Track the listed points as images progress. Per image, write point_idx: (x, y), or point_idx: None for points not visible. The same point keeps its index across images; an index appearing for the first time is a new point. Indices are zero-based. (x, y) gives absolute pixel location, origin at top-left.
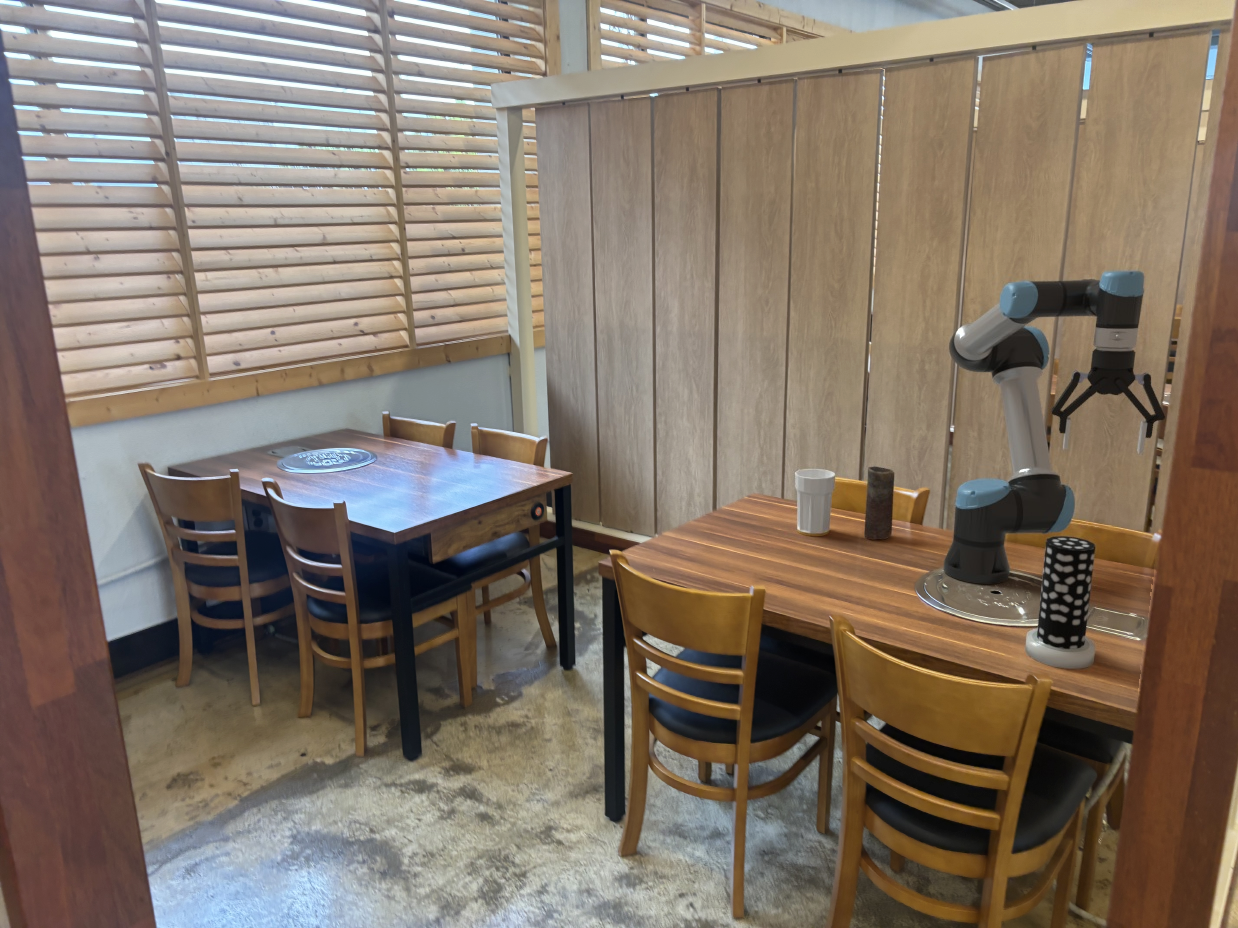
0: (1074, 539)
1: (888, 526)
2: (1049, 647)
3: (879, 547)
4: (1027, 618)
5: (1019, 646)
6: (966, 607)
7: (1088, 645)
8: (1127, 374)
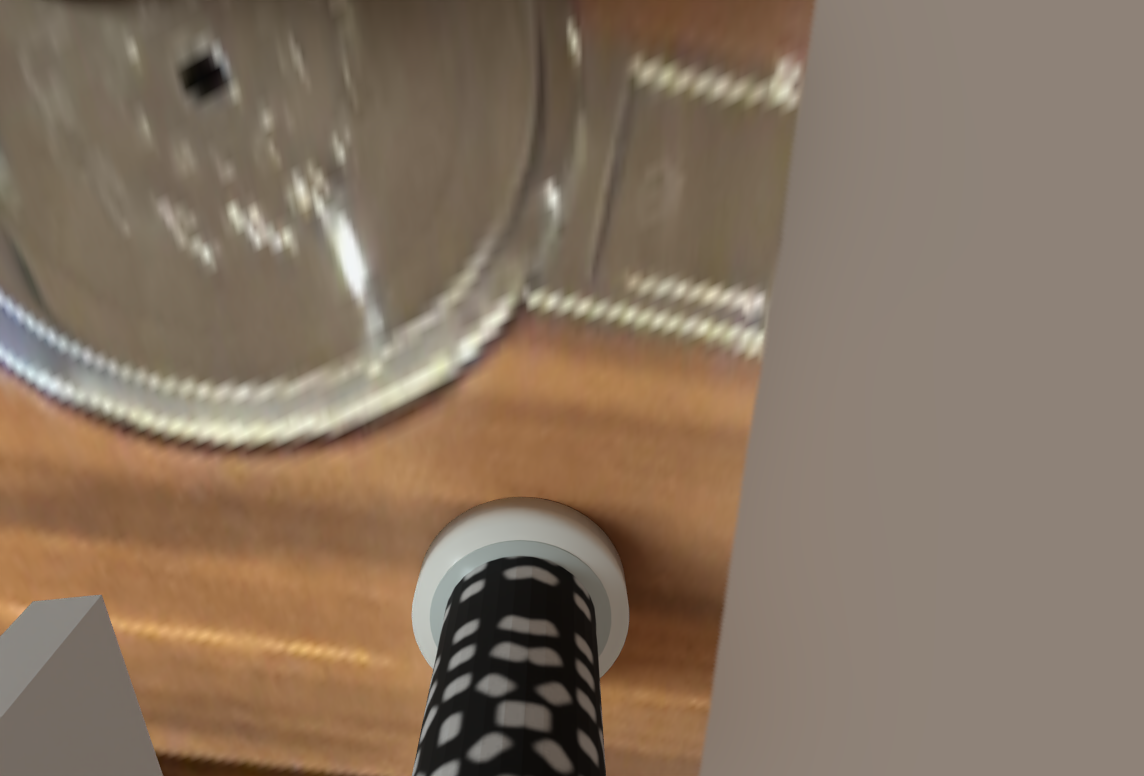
0: None
1: None
2: None
3: None
4: (387, 331)
5: (400, 584)
6: (145, 327)
7: (608, 625)
8: None
